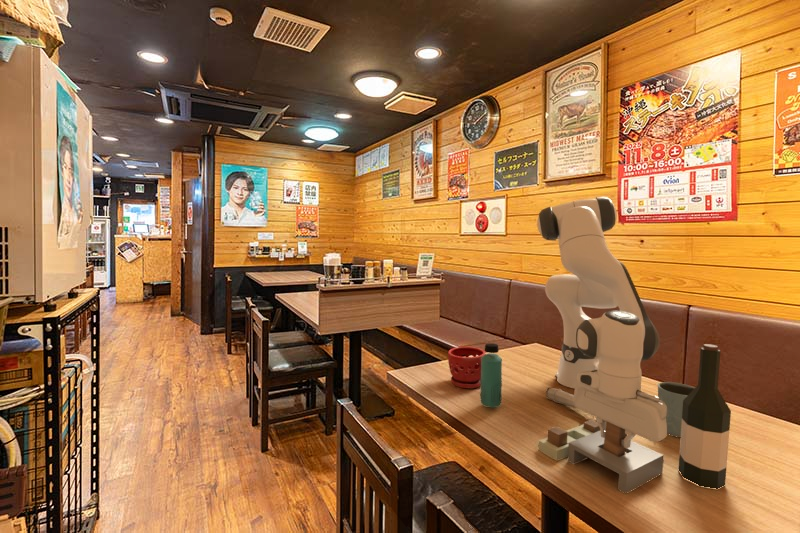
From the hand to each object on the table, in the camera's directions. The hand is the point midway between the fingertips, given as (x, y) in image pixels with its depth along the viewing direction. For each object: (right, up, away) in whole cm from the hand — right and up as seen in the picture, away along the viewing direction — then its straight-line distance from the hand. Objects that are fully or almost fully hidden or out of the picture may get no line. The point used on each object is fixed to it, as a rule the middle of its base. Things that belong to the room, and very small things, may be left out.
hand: (615, 441), depth 93 cm
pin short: (+1, -5, +14) cm, 15 cm away
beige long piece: (+5, -4, +28) cm, 29 cm away
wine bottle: (+17, -7, -3) cm, 19 cm away
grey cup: (+27, -5, +18) cm, 33 cm away
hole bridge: (0, -6, 0) cm, 6 cm away
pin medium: (-11, -6, +7) cm, 14 cm away
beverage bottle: (-22, -3, +32) cm, 39 cm away
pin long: (0, -4, 0) cm, 4 cm away
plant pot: (-26, -2, +51) cm, 57 cm away
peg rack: (-5, -5, +10) cm, 13 cm away
